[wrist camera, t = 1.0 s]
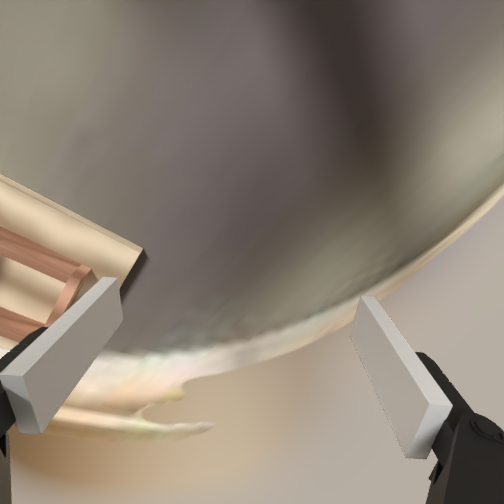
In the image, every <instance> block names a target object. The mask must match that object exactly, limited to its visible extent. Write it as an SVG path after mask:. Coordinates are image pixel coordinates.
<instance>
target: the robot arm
mask: <svg viewBox="0 0 504 504" xmlns="http://www.w3.org/2000/svg"><path fill="white" fill-rule="evenodd" d="M122 321H123V316H122V308H121V300H120V292H119V284H118V278H113V277H103V278H102V279H100V280H99V281H98V282H97V283H96V284H95V285H94V286H93V287H92V288H91V289H90V290H89V291H88V292H86V293H85V294H84V295H83V296H82V297H81V298H80V299H79V300H78V301H77V302H76V303H75V304H74V305H72V306H71V307H70V308H69V309H68V310H67V311H66V312H65V313H64V314H63V315H62V316H61V317H60V318H58V319H57V320H56V321H55V322H54V323H53V324H52V325H51V326H50V327H41V328H39V329H37V330H35V331H33V332H32V333H30V334H28V335H27V336H26V337H25V338H24V339H23V340H21V341H20V342H19V344H18V345H16V346H15V347H14V348H12V349H11V350H10V352H8V353H7V354H6V355H4V356H3V357H2V358H1V359H0V504H11V475H10V449H9V437H8V434H7V430H8V429H9V428H10V427H11V426H12V425H13V424H14V422H15V421H16V424H17V426H18V429H19V432H21V433H22V432H23V433H36V434H41V433H42V432H43V431H44V429H45V428H46V427H47V425H48V424H49V422H50V421H51V420H52V418H53V417H54V415H55V414H56V413H57V411H58V410H59V409H60V407H61V406H62V404H63V403H64V402H65V400H66V399H67V397H68V396H69V395H70V393H71V392H72V390H73V389H74V388H75V386H76V385H77V384H78V382H79V381H80V379H81V378H82V377H83V375H84V374H85V372H86V371H87V370H88V368H89V367H90V365H91V364H92V363H93V361H94V360H95V359H96V357H97V356H98V354H99V353H100V352H101V350H102V349H103V347H104V346H105V345H106V343H107V342H108V340H109V339H110V338H111V336H112V335H113V334H114V332H115V331H116V329H117V328H118V327H119V325H120V324H121V322H122ZM350 337H351V340H352V342H353V344H354V346H355V348H356V351H357V353H358V355H359V357H360V359H361V361H362V364H363V366H364V368H365V370H366V373H367V375H368V377H369V379H370V381H371V383H372V386H373V388H374V390H375V392H376V394H377V396H378V399H379V401H380V403H381V405H382V407H383V410H384V412H385V414H386V416H387V419H388V420H389V423H390V425H391V427H392V430H393V432H394V434H395V436H396V438H397V441H398V443H399V445H400V447H401V449H402V451H403V454H404V456H405V458H414V459H427V457H428V455H429V453H430V451H431V449H433V451H434V453H435V455H436V457H437V458H438V461H437V464H436V465H435V467H434V469H433V471H432V473H431V475H430V477H429V480H431V485H430V489H429V493H428V497H427V501H426V504H504V431H503V430H502V429H501V428H500V427H499V426H497V425H496V424H495V423H494V422H492V421H491V420H489V419H488V418H486V417H484V416H482V415H479V414H477V413H474V412H473V410H472V409H471V408H470V407H469V405H468V404H467V403H466V402H465V400H464V399H463V398H462V396H461V395H460V394H459V393H458V391H457V390H456V389H455V387H454V386H453V385H452V383H451V382H449V380H448V378H447V377H446V376H445V374H443V373H442V371H441V369H440V368H439V367H438V365H437V364H436V363H435V362H434V361H433V360H432V359H431V358H429V357H428V356H427V355H426V354H424V353H421V352H414V351H413V349H412V348H411V347H410V345H409V344H408V342H407V341H406V340H405V338H404V337H403V335H402V334H401V333H400V331H399V330H398V329H397V327H396V326H395V324H394V323H393V321H392V320H391V319H390V317H389V316H388V314H387V313H386V312H385V310H384V309H383V308H382V306H381V305H380V303H379V302H378V301H377V299H376V298H375V297H374V296H360V300H359V304H358V308H357V311H356V315H355V319H354V323H353V327H352V331H351V335H350Z"/></svg>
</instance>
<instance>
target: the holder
mask: <svg viewBox="0 0 504 504" xmlns="http://www.w3.org/2000/svg"><path fill="white" fill-rule="evenodd" d="M142 250H143V248H141V247H139V246H137V245H136V244H134V243H132V242H130V241H128V240H126V239H124V238H122V237H120V236H118V235H116V234H114V233H113V232H111V231H109V230H107V229H105V228H103V227H101V226H99V225H97V224H95V223H93V222H91V221H90V220H88V219H86V218H84V217H82V216H80V215H78V214H76V213H74V212H72V211H70V210H68V209H67V208H65V207H63V206H61V205H59V204H57V203H55V202H53V201H51V200H49V199H47V198H45V197H44V196H42V195H40V194H38V193H36V192H34V191H32V190H30V189H28V188H26V187H24V186H22V185H21V184H19V183H17V182H15V181H13V180H11V179H9V178H7V177H5V176H3V175H1V174H0V346H1V347H4V348H7V349H10V350H11V349H12V348H14V347H15V346H16V345H18V344H19V342H20V341H21V340H23V339H24V338H25V337H26V336H27V335H28V334H30V333H32V332H33V331H35V330H37V329H39V328H41V327H50V326H51V325H52V324H53V323H54V322H55V321H56V320H57V319H58V318H60V317H61V316H62V315H63V314H64V313H65V312H66V311H67V310H68V309H69V308H70V307H71V306H72V305H74V304H75V303H76V302H77V301H78V300H79V299H80V298H81V297H82V296H83V295H84V294H85V293H86V292H88V291H89V290H90V289H91V288H92V287H93V286H94V285H95V284H96V283H97V282H98V281H99V280H100V279H102V278H103V277H113V278H118V284H119V289H120V287H121V285H122V284H123V282H124V280H125V278H126V277H127V275H128V273H129V272H130V270H131V268H132V267H133V265H134V263H135V261H136V260H137V258H138V256H139V255H140V253H141V251H142Z"/></svg>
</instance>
